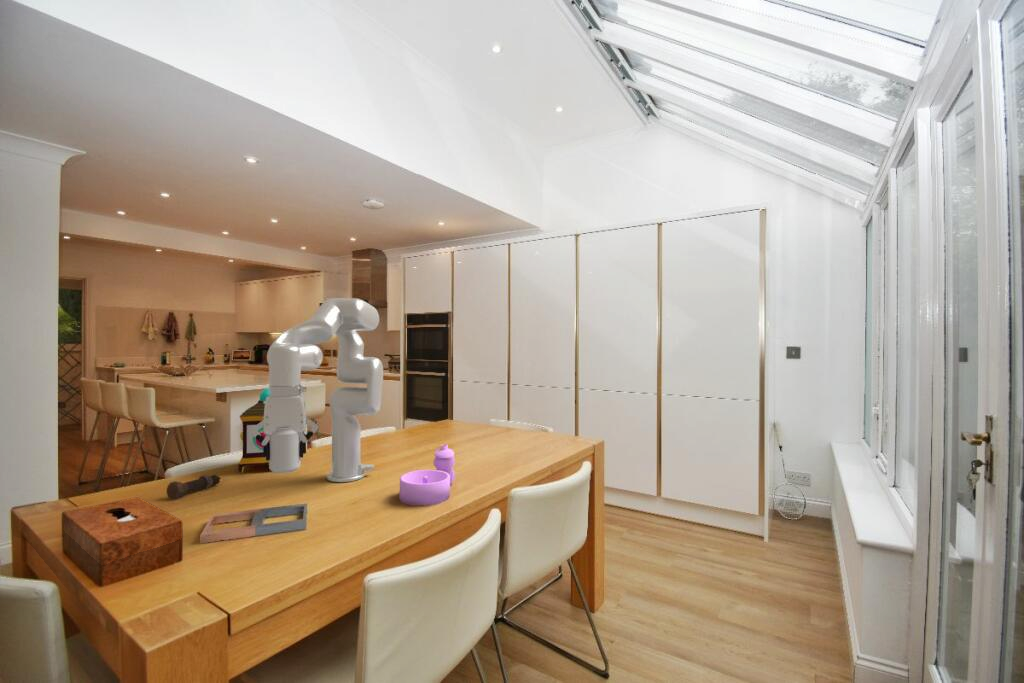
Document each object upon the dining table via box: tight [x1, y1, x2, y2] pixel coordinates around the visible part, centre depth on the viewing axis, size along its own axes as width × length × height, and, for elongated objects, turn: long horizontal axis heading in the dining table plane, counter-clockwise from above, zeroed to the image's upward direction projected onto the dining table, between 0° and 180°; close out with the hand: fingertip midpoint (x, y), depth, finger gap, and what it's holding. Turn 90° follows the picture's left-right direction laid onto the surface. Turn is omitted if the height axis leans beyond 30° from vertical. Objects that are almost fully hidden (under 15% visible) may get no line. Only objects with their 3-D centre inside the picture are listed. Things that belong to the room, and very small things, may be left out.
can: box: [268, 427, 302, 474], centre depth 124 cm, size 8×8×12 cm
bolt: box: [166, 474, 221, 500], centre depth 147 cm, size 6×5×15 cm
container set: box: [399, 444, 456, 507], centre depth 149 cm, size 25×15×13 cm, turn 163°
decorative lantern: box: [237, 387, 269, 474], centre depth 177 cm, size 20×20×30 cm
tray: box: [199, 503, 308, 544], centre depth 122 cm, size 23×14×2 cm, turn 113°
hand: (285, 457), depth 124 cm, fingers closed on can, 7 cm apart
